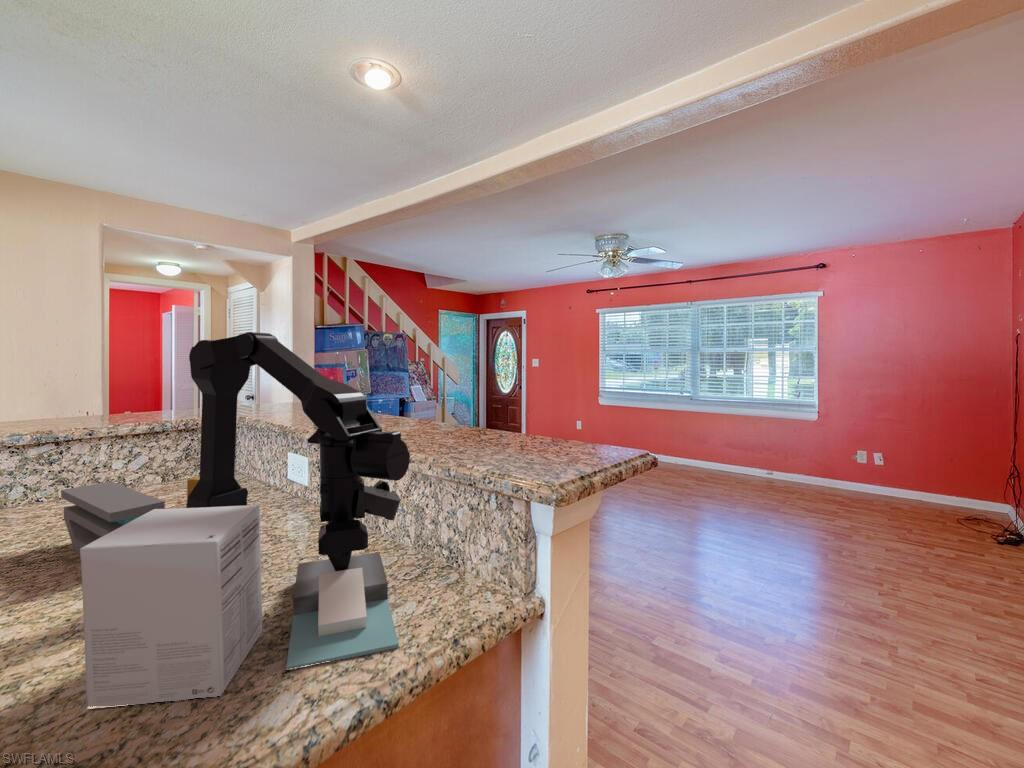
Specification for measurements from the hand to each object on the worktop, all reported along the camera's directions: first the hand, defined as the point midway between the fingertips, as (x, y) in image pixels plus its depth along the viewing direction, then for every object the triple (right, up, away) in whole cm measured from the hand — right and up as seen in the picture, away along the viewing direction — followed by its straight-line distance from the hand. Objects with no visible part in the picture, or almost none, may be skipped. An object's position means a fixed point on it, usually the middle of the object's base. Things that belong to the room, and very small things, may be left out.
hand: (342, 576), depth 70 cm
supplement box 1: (-13, -5, -14) cm, 20 cm away
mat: (+3, -5, -7) cm, 9 cm away
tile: (+2, -1, -5) cm, 5 cm away
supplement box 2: (-45, -2, +35) cm, 57 cm away
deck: (-2, -4, +4) cm, 6 cm away
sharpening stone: (-50, -3, +18) cm, 54 cm away
